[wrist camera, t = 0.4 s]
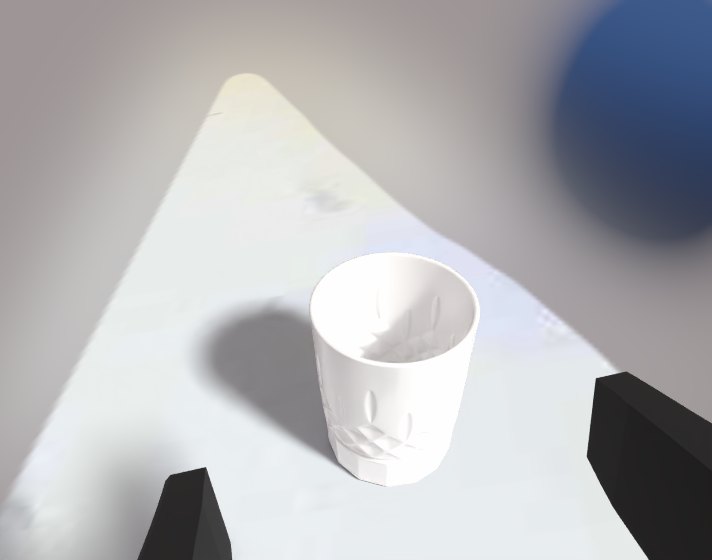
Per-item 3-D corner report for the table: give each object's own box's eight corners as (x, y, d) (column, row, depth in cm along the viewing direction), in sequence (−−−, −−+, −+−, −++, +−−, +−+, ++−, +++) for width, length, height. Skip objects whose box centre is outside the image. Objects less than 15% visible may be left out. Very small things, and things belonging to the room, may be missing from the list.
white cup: (298, 475, 35) (282, 343, 28) (344, 369, 40) (340, 240, 34) (444, 515, 33) (463, 384, 26) (470, 398, 39) (491, 267, 32)
